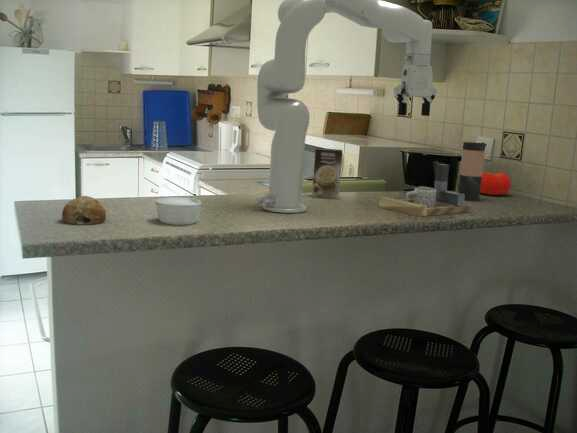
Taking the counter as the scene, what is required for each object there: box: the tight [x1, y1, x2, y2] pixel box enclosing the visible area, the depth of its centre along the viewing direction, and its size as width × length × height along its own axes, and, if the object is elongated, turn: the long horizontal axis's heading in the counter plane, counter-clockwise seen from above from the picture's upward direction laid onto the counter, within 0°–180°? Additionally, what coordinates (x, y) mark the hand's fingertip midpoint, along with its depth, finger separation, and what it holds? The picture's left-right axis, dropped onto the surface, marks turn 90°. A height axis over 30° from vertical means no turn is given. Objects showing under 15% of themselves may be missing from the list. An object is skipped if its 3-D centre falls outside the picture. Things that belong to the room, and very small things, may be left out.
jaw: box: [416, 163, 465, 206], centre depth 199 cm, size 3×17×12 cm, turn 35°
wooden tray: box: [378, 196, 474, 218], centre depth 196 cm, size 24×17×3 cm
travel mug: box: [457, 141, 486, 202], centre depth 222 cm, size 8×8×20 cm
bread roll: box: [61, 195, 107, 226], centre depth 151 cm, size 10×10×8 cm
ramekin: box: [155, 197, 202, 226], centre depth 157 cm, size 11×11×5 cm
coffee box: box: [311, 147, 343, 200], centre depth 210 cm, size 9×6×16 cm
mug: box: [404, 186, 437, 208], centre depth 194 cm, size 10×7×7 cm, turn 107°
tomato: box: [480, 171, 512, 197], centre depth 240 cm, size 13×12×8 cm
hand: (413, 115), depth 202 cm, fingers open, 9 cm apart
